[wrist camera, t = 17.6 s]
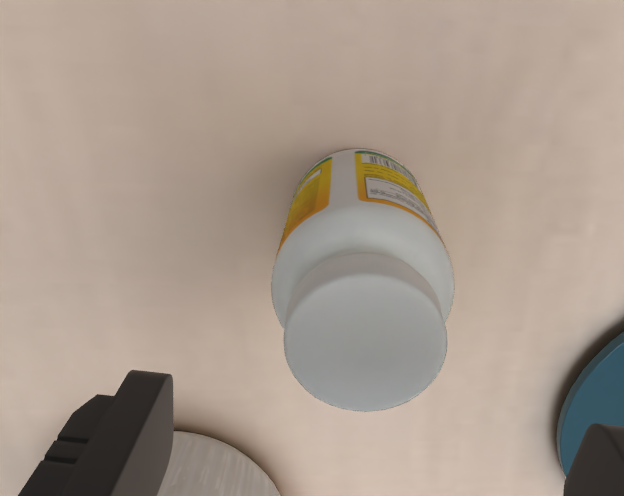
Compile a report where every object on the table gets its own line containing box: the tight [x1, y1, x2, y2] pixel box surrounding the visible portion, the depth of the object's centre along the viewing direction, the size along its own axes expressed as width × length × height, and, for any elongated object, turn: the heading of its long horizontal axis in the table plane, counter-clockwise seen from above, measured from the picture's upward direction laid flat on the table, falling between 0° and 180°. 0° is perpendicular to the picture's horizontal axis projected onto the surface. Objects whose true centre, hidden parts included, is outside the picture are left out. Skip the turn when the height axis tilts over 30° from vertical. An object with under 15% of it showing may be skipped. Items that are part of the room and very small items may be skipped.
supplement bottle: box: [271, 149, 454, 412], centre depth 17 cm, size 5×5×10 cm
